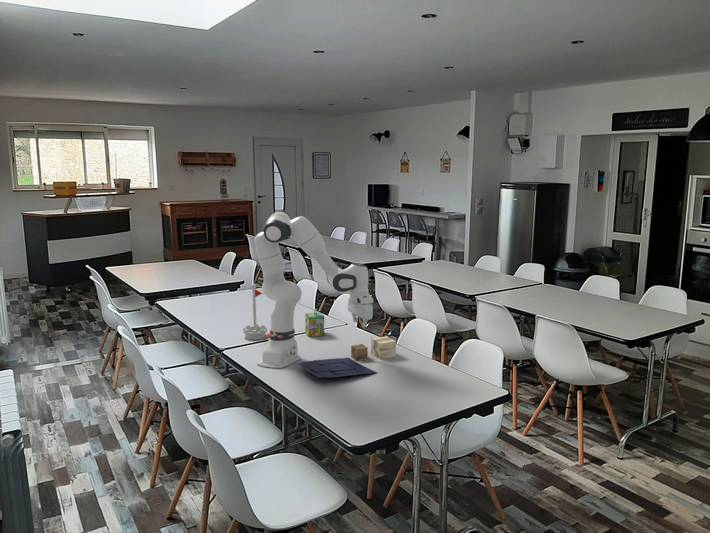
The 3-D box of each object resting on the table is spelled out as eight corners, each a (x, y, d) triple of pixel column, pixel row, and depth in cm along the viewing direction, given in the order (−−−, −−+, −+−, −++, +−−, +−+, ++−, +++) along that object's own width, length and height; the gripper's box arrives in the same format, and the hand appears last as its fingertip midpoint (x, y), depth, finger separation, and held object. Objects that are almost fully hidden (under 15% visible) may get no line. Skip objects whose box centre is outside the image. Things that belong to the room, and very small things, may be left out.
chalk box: (305, 333, 301) (304, 307, 299) (320, 331, 304) (320, 306, 302) (308, 337, 293) (308, 311, 290) (324, 336, 295) (324, 310, 293)
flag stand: (239, 338, 291) (237, 285, 286) (250, 332, 303) (248, 280, 298) (260, 341, 287) (258, 286, 282) (271, 334, 299) (269, 282, 294)
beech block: (395, 356, 262) (395, 341, 261) (379, 359, 258) (379, 343, 257) (386, 351, 270) (386, 336, 269) (371, 353, 266) (371, 338, 265)
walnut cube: (367, 359, 259) (367, 347, 258) (356, 361, 256) (356, 349, 255) (361, 355, 264) (362, 343, 263) (351, 357, 261) (351, 345, 260)
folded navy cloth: (293, 368, 243) (294, 360, 243) (347, 363, 260) (348, 355, 260) (320, 385, 223) (320, 377, 223) (377, 378, 240) (377, 370, 240)
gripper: (344, 293, 262) (344, 320, 265) (363, 301, 244) (363, 330, 247) (355, 291, 265) (356, 318, 268) (375, 300, 247) (375, 328, 249)
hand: (359, 324), depth 257 cm, fingers open, 8 cm apart
